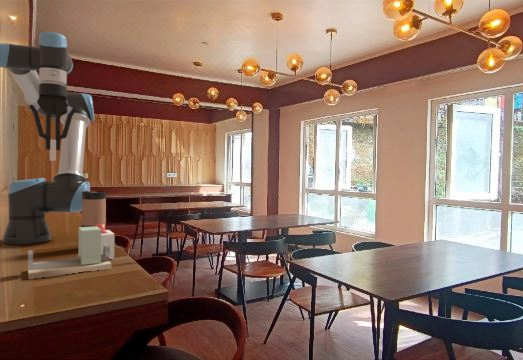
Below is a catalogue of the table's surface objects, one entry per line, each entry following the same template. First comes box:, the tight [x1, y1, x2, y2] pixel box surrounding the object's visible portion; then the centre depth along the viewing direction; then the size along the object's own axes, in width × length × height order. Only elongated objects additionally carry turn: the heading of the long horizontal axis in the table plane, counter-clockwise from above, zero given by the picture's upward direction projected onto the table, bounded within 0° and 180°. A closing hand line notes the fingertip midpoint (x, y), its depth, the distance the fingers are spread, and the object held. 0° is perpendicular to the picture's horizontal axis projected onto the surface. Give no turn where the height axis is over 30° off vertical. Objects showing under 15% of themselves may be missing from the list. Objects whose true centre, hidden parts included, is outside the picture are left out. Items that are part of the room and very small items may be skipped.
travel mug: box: [81, 190, 107, 230], centre depth 129 cm, size 8×8×20 cm
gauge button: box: [95, 224, 105, 234], centre depth 117 cm, size 3×3×5 cm
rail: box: [27, 244, 112, 280], centre depth 104 cm, size 9×20×6 cm, turn 124°
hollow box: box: [101, 229, 115, 260], centre depth 117 cm, size 8×7×8 cm
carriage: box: [77, 226, 101, 265], centre depth 106 cm, size 6×5×10 cm
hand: (52, 160), depth 116 cm, fingers closed
